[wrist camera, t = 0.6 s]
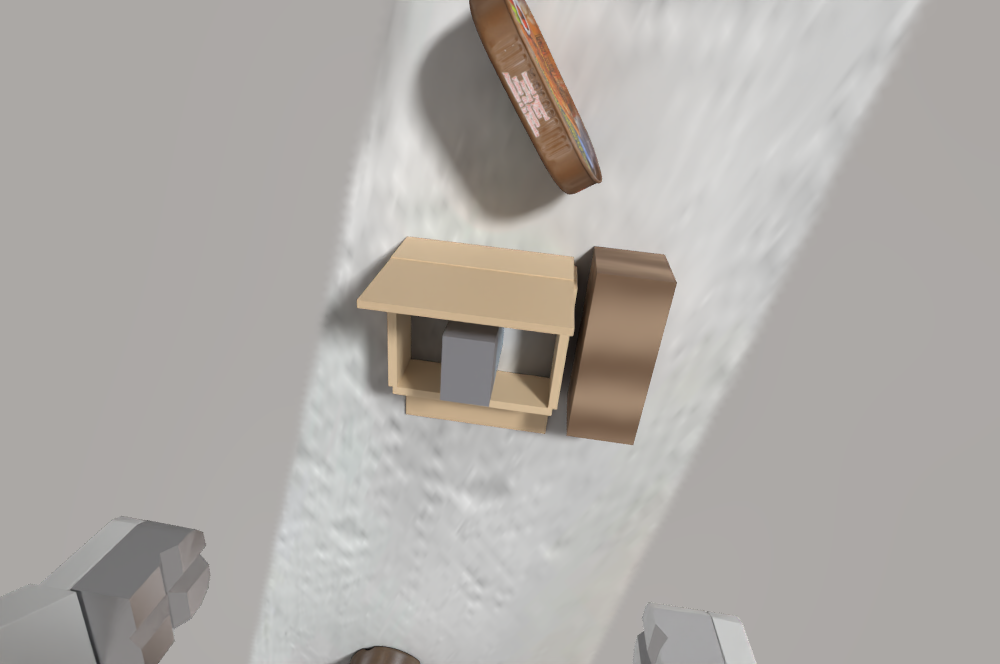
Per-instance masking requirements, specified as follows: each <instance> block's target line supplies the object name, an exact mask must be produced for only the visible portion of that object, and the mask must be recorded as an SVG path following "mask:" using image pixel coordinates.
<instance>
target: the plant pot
mask: <svg viewBox="0 0 1000 664" xmlns="http://www.w3.org/2000/svg"><path fill="white" fill-rule="evenodd" d="M349 664H420V662H419V661H418V660H417V659H416V658H414V657H413V656H411V655H409V654H407V653H405V652H403V651H400V650H397V649H393V648H388V647H374V648H372V649H371V650H366V649H362V650H360V651H358V652H357V653H355V654H354V656H353V657H352V658H351V660H350V663H349Z"/></svg>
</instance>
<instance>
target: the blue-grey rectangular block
mask: <svg viewBox="0 0 1000 664" xmlns="http://www.w3.org/2000/svg"><path fill="white" fill-rule="evenodd" d="M503 335H504V327H498V326H491V325H483V324H475V323H468V322H460V321H453V320H449V322H448V324H447V327H446V329H445V331H444V334H443V336H442V361H441V387H440V400H443V401H450V402H457V403H464V404H472V405H479V406H486V407H489V404H490V399H491V395H492V390H493V386H494V381H495V377H496V372H497V368H498V363H499V358H500V354H501V349H502V345H503Z"/></svg>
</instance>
